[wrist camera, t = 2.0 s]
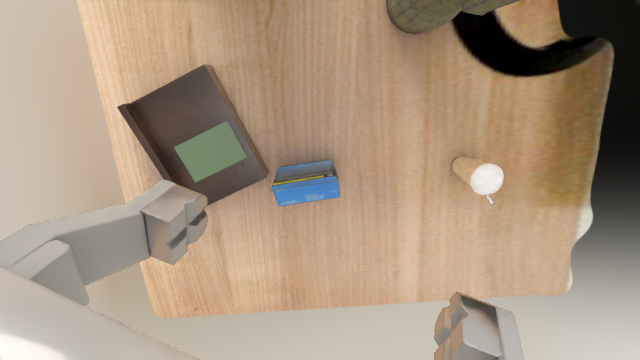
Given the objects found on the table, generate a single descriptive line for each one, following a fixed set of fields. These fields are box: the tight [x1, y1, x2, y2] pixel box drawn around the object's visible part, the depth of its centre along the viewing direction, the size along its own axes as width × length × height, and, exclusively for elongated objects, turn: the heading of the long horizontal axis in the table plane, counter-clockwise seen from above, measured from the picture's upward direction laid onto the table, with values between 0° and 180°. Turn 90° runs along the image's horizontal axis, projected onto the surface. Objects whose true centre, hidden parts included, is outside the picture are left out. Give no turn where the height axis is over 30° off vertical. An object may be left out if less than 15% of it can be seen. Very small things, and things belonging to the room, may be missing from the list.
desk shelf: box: [117, 65, 269, 205], centre depth 48 cm, size 18×13×5 cm
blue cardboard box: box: [270, 160, 340, 207], centre depth 46 cm, size 9×4×12 cm, turn 99°
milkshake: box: [452, 156, 504, 205], centre depth 48 cm, size 4×5×10 cm
